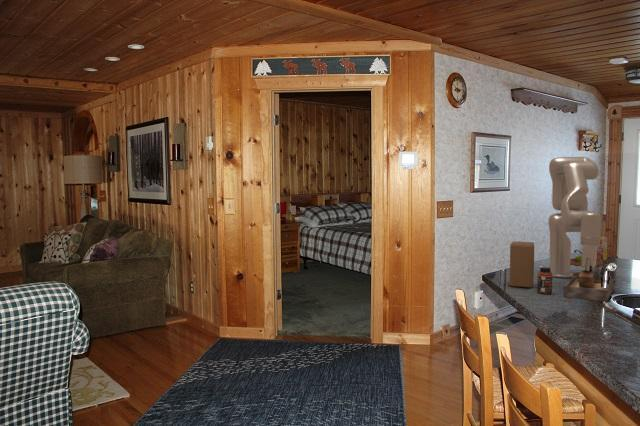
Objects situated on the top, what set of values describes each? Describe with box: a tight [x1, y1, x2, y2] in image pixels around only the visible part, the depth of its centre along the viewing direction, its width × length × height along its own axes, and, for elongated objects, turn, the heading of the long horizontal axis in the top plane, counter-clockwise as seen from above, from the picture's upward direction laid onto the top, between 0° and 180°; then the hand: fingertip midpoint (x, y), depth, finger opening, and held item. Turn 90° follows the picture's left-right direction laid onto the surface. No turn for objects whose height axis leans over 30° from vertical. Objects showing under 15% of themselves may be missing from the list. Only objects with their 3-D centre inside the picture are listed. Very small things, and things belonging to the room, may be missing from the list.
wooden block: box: [509, 240, 535, 289], centre depth 232 cm, size 10×10×20 cm
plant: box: [570, 249, 605, 268], centre depth 282 cm, size 20×20×11 cm
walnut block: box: [578, 269, 595, 289], centre depth 210 cm, size 5×5×6 cm
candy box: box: [596, 235, 608, 261], centre depth 294 cm, size 9×4×15 cm, turn 29°
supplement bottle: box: [536, 266, 553, 295], centre depth 216 cm, size 6×6×11 cm
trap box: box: [563, 274, 615, 303], centre depth 216 cm, size 16×28×4 cm, turn 145°
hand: (589, 283), depth 214 cm, fingers closed
